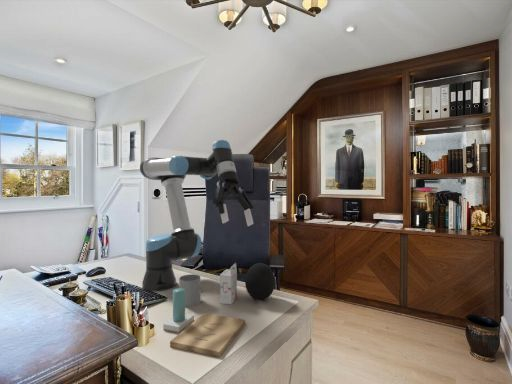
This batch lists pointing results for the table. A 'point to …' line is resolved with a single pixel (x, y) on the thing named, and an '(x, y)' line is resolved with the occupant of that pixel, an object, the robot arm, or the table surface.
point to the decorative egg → (260, 281)
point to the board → (208, 334)
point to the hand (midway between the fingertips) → (238, 223)
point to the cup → (191, 289)
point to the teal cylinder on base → (178, 313)
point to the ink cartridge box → (228, 285)
